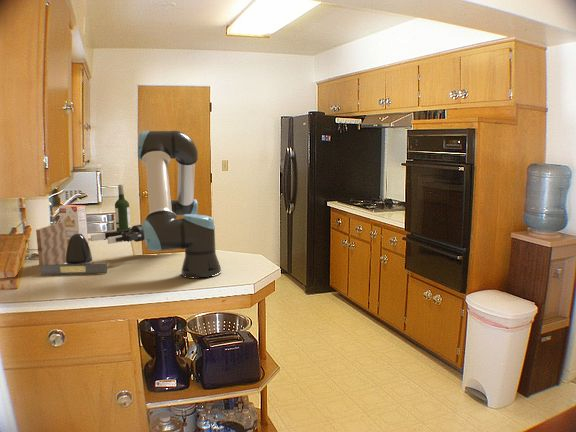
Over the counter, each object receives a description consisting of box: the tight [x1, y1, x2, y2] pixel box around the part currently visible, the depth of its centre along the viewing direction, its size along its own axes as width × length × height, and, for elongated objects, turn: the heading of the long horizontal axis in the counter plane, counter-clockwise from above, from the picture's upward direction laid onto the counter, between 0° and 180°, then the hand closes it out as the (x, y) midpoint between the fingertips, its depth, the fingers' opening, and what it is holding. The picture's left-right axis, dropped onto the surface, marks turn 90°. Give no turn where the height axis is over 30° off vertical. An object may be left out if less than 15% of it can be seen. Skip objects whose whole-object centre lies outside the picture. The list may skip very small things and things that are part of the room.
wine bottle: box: [114, 184, 132, 231], centre depth 289 cm, size 8×8×30 cm
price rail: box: [39, 262, 109, 276], centre depth 202 cm, size 2×26×4 cm, turn 91°
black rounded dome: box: [65, 233, 93, 264], centre depth 210 cm, size 10×10×15 cm
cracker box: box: [58, 204, 89, 245], centre depth 270 cm, size 14×6×21 cm, turn 62°
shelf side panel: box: [35, 221, 68, 275], centre depth 216 cm, size 24×2×18 cm, turn 0°
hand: (99, 239), depth 217 cm, fingers open, 13 cm apart
